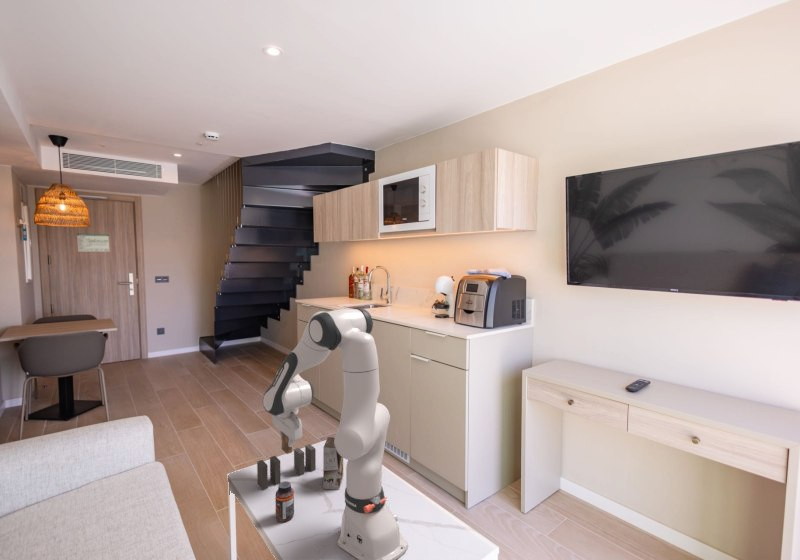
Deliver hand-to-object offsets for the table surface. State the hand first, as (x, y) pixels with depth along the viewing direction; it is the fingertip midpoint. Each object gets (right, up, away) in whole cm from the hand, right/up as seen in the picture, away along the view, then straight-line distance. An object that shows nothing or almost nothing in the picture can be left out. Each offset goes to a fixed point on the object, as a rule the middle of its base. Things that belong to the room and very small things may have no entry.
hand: (286, 443), depth 155 cm
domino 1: (-8, -14, -6) cm, 17 cm away
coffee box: (+19, -14, -3) cm, 24 cm away
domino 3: (0, -3, 0) cm, 3 cm away
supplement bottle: (+6, -15, -23) cm, 28 cm away
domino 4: (+4, -14, +4) cm, 15 cm away
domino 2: (-4, -14, -2) cm, 15 cm away
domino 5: (+8, -13, +7) cm, 17 cm away
